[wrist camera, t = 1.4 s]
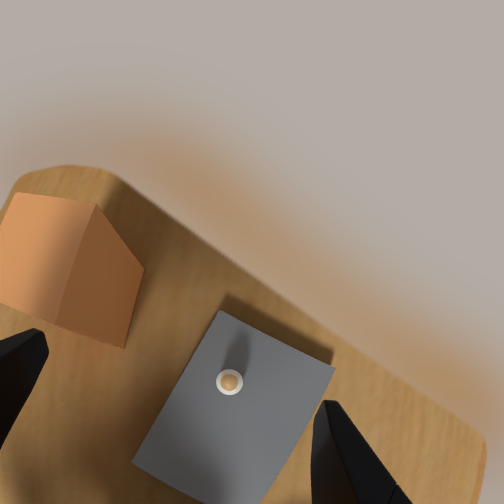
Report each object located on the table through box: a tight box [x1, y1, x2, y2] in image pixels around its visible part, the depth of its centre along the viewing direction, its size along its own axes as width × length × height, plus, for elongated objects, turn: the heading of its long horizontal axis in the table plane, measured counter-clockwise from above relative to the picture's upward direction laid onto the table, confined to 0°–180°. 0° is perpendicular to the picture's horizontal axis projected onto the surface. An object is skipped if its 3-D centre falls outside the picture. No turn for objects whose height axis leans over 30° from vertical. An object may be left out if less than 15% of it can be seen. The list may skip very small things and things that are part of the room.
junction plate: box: [131, 310, 336, 504], centre depth 18 cm, size 13×9×4 cm
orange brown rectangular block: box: [0, 192, 144, 348], centre depth 18 cm, size 6×6×10 cm
